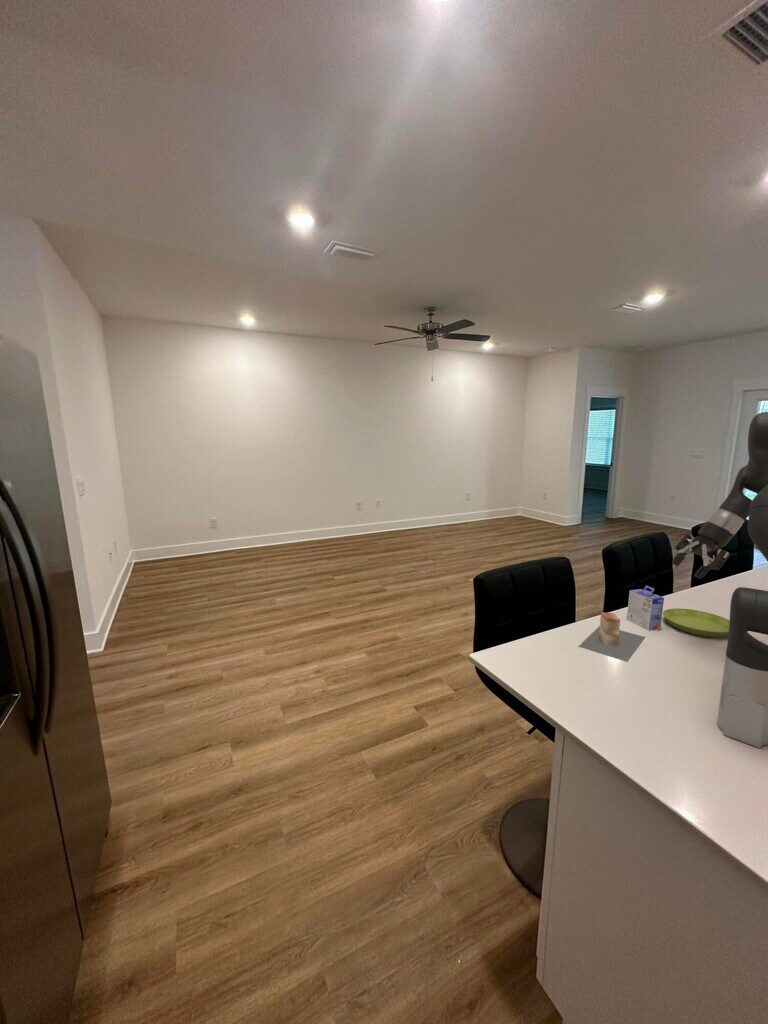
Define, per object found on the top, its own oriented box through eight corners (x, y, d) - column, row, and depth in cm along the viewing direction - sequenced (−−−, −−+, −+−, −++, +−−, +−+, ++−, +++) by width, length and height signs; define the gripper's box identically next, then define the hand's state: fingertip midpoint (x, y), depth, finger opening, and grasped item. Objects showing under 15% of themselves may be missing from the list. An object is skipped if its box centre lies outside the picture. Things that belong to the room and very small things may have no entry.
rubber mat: (627, 663, 122) (627, 661, 122) (578, 648, 132) (578, 646, 132) (645, 638, 138) (645, 637, 137) (600, 626, 147) (600, 624, 147)
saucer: (751, 640, 136) (752, 631, 136) (689, 641, 136) (690, 632, 135) (703, 615, 156) (704, 607, 156) (649, 616, 156) (650, 608, 156)
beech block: (612, 638, 137) (614, 613, 135) (617, 645, 132) (620, 619, 130) (599, 637, 137) (601, 612, 136) (604, 644, 132) (606, 618, 131)
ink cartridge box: (661, 630, 143) (665, 591, 141) (649, 632, 142) (653, 592, 140) (637, 619, 153) (641, 582, 151) (625, 621, 151) (628, 583, 149)
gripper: (692, 514, 129) (659, 556, 132) (734, 530, 115) (696, 576, 119) (708, 524, 131) (675, 565, 134) (751, 541, 117) (713, 587, 121)
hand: (685, 570), depth 126 cm, fingers open, 8 cm apart
